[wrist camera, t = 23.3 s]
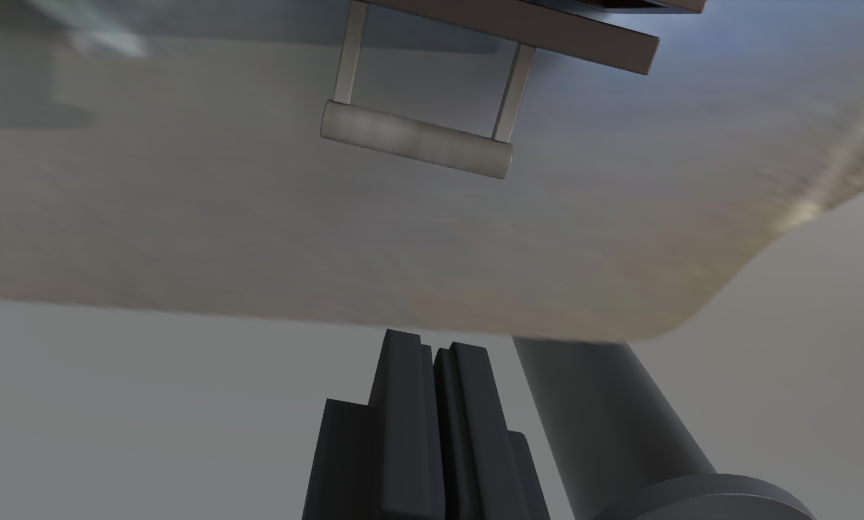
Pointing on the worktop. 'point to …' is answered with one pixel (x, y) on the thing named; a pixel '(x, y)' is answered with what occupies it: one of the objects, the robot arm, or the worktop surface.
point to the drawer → (531, 27)
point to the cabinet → (646, 6)
